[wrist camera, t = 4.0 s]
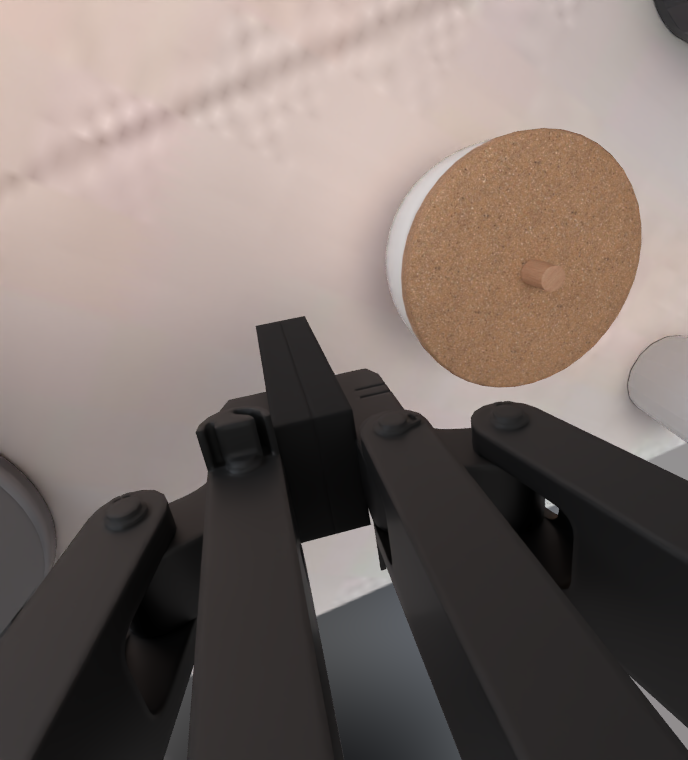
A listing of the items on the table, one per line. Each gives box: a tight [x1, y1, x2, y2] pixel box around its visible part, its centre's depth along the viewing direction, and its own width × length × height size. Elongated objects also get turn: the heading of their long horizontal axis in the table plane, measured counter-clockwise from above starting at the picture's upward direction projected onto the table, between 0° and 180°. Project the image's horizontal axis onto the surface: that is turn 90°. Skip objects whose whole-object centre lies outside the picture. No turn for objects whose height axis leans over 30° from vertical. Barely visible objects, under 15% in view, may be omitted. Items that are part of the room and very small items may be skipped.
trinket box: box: [385, 128, 641, 387], centre depth 23 cm, size 11×11×9 cm
